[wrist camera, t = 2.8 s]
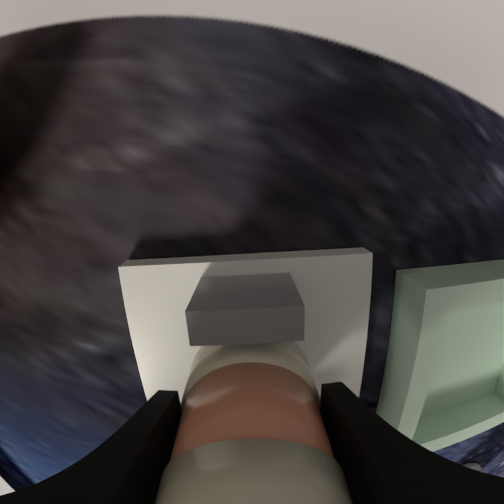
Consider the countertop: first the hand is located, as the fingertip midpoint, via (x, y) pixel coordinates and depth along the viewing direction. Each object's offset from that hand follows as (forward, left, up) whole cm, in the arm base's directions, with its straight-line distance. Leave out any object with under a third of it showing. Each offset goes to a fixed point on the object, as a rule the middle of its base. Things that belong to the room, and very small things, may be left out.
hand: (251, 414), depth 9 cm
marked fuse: (0, 0, -2) cm, 2 cm away
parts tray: (-1, -11, -4) cm, 11 cm away
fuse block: (-4, 0, -4) cm, 6 cm away
